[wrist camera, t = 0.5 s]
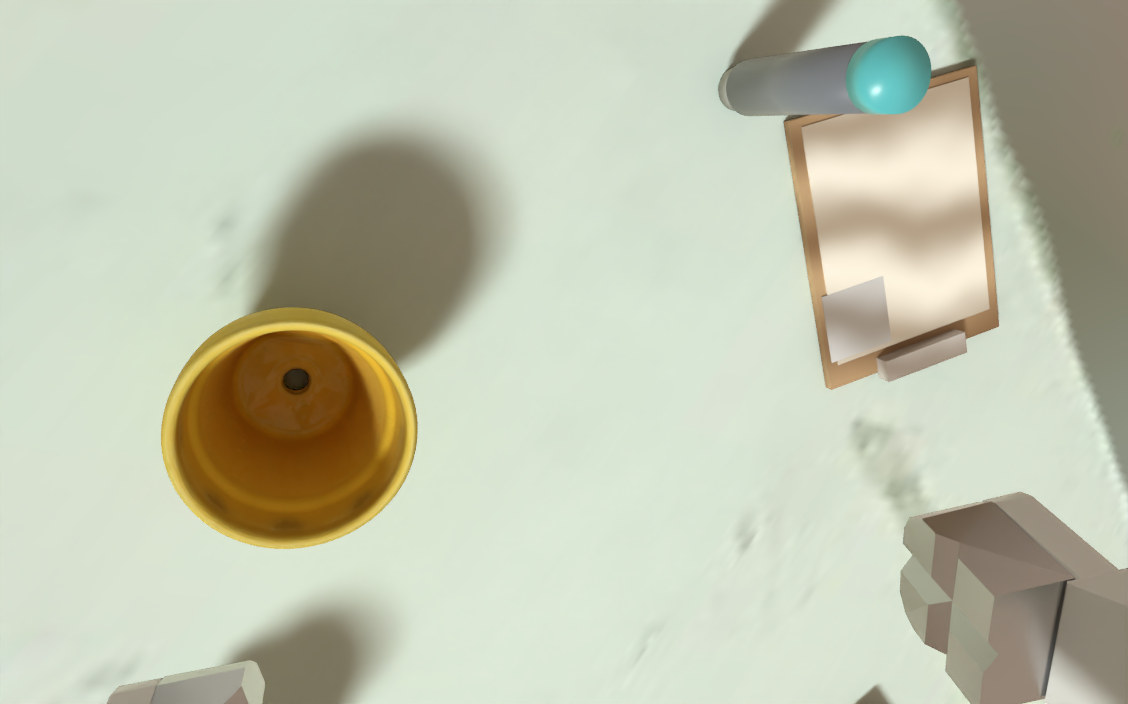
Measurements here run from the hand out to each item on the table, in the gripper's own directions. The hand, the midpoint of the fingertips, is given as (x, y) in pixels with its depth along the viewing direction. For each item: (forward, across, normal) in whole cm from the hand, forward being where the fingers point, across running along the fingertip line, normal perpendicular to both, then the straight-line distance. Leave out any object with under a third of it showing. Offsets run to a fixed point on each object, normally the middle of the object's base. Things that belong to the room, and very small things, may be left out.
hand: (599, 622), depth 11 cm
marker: (+40, -17, +2) cm, 43 cm away
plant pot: (+34, +10, +12) cm, 38 cm away
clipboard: (+40, -27, +12) cm, 49 cm away
